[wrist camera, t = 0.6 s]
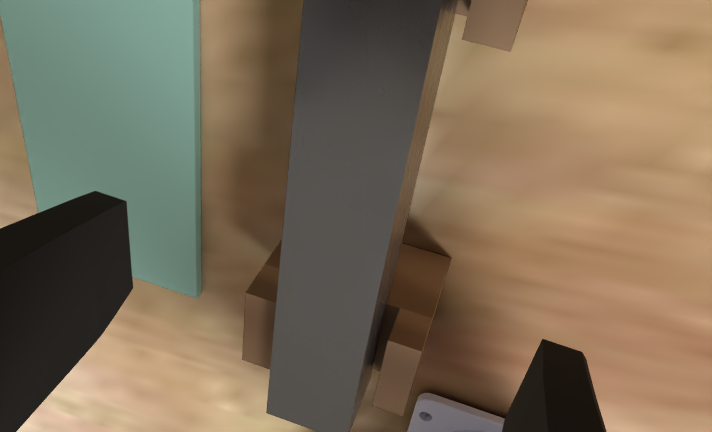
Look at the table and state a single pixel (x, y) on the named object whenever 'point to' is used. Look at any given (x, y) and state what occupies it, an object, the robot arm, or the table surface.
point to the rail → (349, 194)
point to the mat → (116, 118)
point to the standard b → (492, 21)
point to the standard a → (399, 331)
